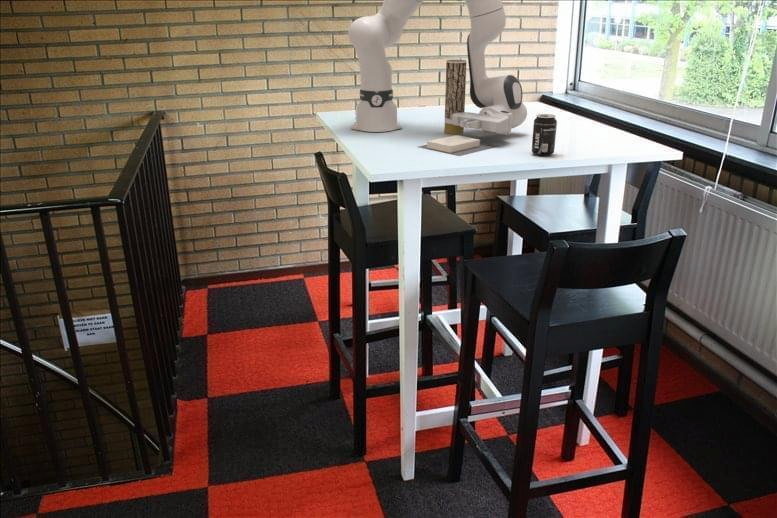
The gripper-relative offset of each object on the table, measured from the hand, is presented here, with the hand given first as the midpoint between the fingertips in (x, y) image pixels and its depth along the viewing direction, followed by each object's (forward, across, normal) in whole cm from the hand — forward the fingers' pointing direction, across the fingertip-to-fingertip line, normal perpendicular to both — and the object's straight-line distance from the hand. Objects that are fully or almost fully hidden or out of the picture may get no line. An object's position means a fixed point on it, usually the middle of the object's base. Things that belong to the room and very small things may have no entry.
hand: (464, 125), depth 212 cm
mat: (+2, 0, +7) cm, 7 cm away
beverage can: (-9, +24, +7) cm, 27 cm away
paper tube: (-13, -15, +7) cm, 21 cm away
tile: (-2, 0, +5) cm, 6 cm away
